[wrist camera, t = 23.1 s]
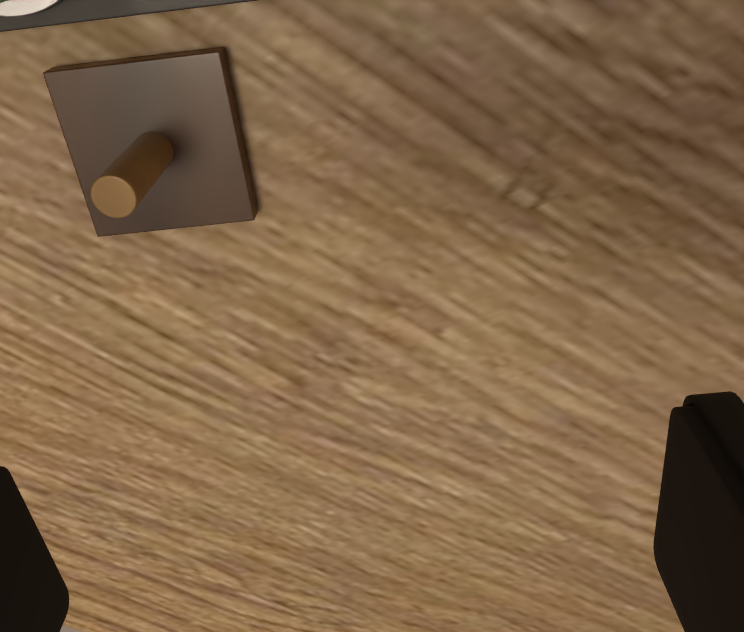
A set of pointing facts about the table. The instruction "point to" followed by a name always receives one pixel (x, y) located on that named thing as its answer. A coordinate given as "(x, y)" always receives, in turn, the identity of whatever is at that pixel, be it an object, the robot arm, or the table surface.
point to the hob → (101, 11)
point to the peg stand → (155, 141)
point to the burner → (25, 7)
